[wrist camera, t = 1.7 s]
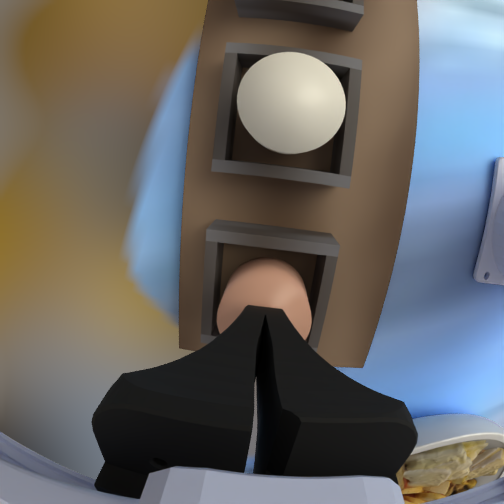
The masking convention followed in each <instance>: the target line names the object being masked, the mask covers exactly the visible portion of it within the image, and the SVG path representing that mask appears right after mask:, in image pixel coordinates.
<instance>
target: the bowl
mask: <svg viewBox="0 0 504 504" xmlns="http://www.w3.org/2000/svg"><path fill="white" fill-rule="evenodd" d="M412 420H413V422H414V425H415V427H416V430H417V432H418V440H417V444H416V446H415V448H414V450H413V452H412V453H411V454H410V456H409V457H408V459H407V460H406V461H405V463H404V464H403V465H402V467H401V468H400V469H399V471H398V472H397V473H396V476H397V479H398V483H399V486H400V489H401V492H402V496H403V499H404V503H405V504H421V503H425V502H430V501H433V500H437V499H441V498H445V497H448V496H451V495H455V494H458V493H461V492H464V491H467V490H470V489H473V488H476V487H479V486H481V485H484V484H487V483H489V482H492V481H494V480H497V479H499V478H502V477H503V476H504V428H503V427H502V426H500V425H499V424H498V423H496V422H494V421H492V420H490V419H488V418H485V417H481V416H477V415H470V414H441V415H432V416H426V417H419V418H414V419H412Z"/></svg>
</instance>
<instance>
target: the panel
mask: <svg viewBox="0 0 504 504" xmlns="http://www.w3.org/2000/svg"><path fill="white" fill-rule="evenodd" d="M281 52H298V53H303V54H306V55H309V56H312V57H314V58H316V59H318V60H320V61H321V62H323V63H324V64H325V65H327V66H328V67H329V68H330V69H331V70H332V71H333V72H334V74H335V75H336V76H337V78H338V79H339V81H340V83H341V85H342V88H343V91H344V94H345V101H346V109H345V115H344V119H343V122H342V124H341V126H340V128H339V129H338V131H337V132H336V134H335V135H334V136H333V137H332V138H331V139H330V140H329V141H328V142H327V143H325V144H324V145H322V146H320V147H318V148H316V149H314V150H311V151H308V152H303V153H299V154H280V153H276V152H273V151H271V150H269V149H267V148H265V147H263V146H262V145H261V144H259V143H258V142H257V141H256V140H255V139H254V138H253V137H252V135H251V134H250V133H249V132H248V131H247V129H246V128H245V126H244V125H243V123H242V121H241V118H240V116H239V112H238V107H237V94H238V88H239V86H240V83H241V81H242V79H243V77H244V75H245V74H246V72H247V71H248V70H249V69H250V68H251V67H252V66H253V65H254V64H255V63H256V62H258V61H259V60H261V59H263V58H265V57H267V56H269V55H272V54H276V53H281ZM418 95H419V26H418V9H417V0H208V5H207V10H206V15H205V21H204V26H203V32H202V38H201V44H200V50H199V57H198V63H197V70H196V77H195V85H194V92H193V100H192V108H191V117H190V126H189V135H188V145H187V156H186V167H185V180H184V193H183V208H182V226H181V248H180V279H179V348H182V349H187V350H192V351H197V350H199V349H201V348H202V347H204V346H205V345H207V344H208V343H210V342H211V341H212V340H214V339H215V338H216V337H217V336H219V335H220V332H219V329H218V326H217V312H218V308H219V305H220V302H221V299H222V297H223V294H224V291H225V289H226V286H227V283H228V280H229V278H230V276H231V275H232V273H233V272H234V271H235V270H236V269H237V268H238V267H239V266H240V265H241V264H243V263H244V262H247V261H249V260H251V259H254V258H259V257H272V258H277V259H280V260H283V261H285V262H287V263H288V264H290V265H291V266H292V267H294V268H295V269H296V270H297V271H298V273H299V274H300V276H301V277H302V279H303V281H304V285H305V289H306V293H307V297H308V302H309V306H310V311H311V317H312V323H311V328H310V332H309V334H308V336H307V338H306V340H305V341H306V342H307V343H308V344H309V345H310V346H311V347H312V349H313V350H314V351H315V352H316V353H318V354H319V355H320V356H321V357H322V358H323V359H324V360H326V361H327V362H328V363H329V364H330V365H332V366H333V367H353V368H363V366H364V363H365V361H366V358H367V355H368V352H369V349H370V346H371V343H372V340H373V337H374V334H375V331H376V328H377V324H378V321H379V318H380V315H381V311H382V308H383V304H384V301H385V297H386V294H387V290H388V286H389V282H390V278H391V275H392V271H393V266H394V262H395V258H396V254H397V249H398V245H399V240H400V235H401V230H402V225H403V220H404V215H405V210H406V204H407V198H408V192H409V185H410V179H411V171H412V164H413V156H414V147H415V137H416V126H417V113H418Z"/></svg>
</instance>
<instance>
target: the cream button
mask: <svg viewBox="0 0 504 504" xmlns="http://www.w3.org/2000/svg"><path fill="white" fill-rule="evenodd" d="M237 107H238V112H239V116H240V118H241V121H242V123H243V125H244V126H245V128H246V129H247V131H248V132H249V133H250V134H251V135H252V137H253V138H254V139H255V140H256V141H257V142H258V143H259V144H261V145H262V146H263V147H265V148H267V149H269V150H271V151H273V152H276V153H280V154H299V153H303V152H308V151H311V150H314V149H316V148H318V147H320V146H322V145H324V144H325V143H327V142H328V141H329V140H330V139H331V138H332V137H333V136H334V135H335V134H336V132H337V131H338V129H339V128H340V126H341V124H342V122H343V119H344V115H345V109H346V101H345V94H344V91H343V88H342V85H341V83H340V81H339V79H338V78H337V76H336V75H335V74H334V72H333V71H332V70H331V69H330V68H329V67H328V66H327V65H325V64H324V63H323V62H321V61H320V60H318V59H316V58H314V57H312V56H309V55H306V54H303V53H298V52H281V53H276V54H272V55H269V56H267V57H265V58H263V59H261V60H259V61H258V62H256V63H255V64H254V65H253V66H252V67H251V68H250V69H249V70H248V71H247V72H246V74H245V75H244V77H243V79H242V81H241V83H240V86H239V88H238V94H237Z"/></svg>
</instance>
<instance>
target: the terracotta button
mask: <svg viewBox="0 0 504 504" xmlns="http://www.w3.org/2000/svg"><path fill="white" fill-rule="evenodd" d="M247 305H254V306H262V307H271V308H279V309H283V311H284V312H285V313H286V315H287V317H288V318H289V320H290V321H291V323H292V324H293V326H294V327H295V328H296V330H297V331H298V332H299V334H300V335H301V336H302V337H303V339H304V340H306V338H307V336H308V334H309V332H310V328H311V323H312V317H311V311H310V306H309V302H308V297H307V293H306V289H305V285H304V281H303V279H302V277H301V276H300V274H299V273H298V271H297V270H296V269H295V268H294V267H292V266H291V265H290V264H288V263H287V262H285V261H283V260H280V259H277V258H272V257H259V258H254V259H251V260H249V261H247V262H244V263H243V264H241V265H240V266H239V267H238V268H237V269H236V270H235V271H234V272H233V273H232V275H231V276H230V278H229V280H228V283H227V286H226V289H225V291H224V294H223V297H222V299H221V302H220V305H219V308H218V312H217V326H218V329H219V332H220V334H221V333H222V332H223V331H224V330H226V329H227V328H228V327H229V326H230V325H231V324H232V323H233V322H234V321H235V320H236V318H237V317H238V316H239V315H240V314H241V312H242V311H243V310H244V308H245V307H246V306H247Z"/></svg>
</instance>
